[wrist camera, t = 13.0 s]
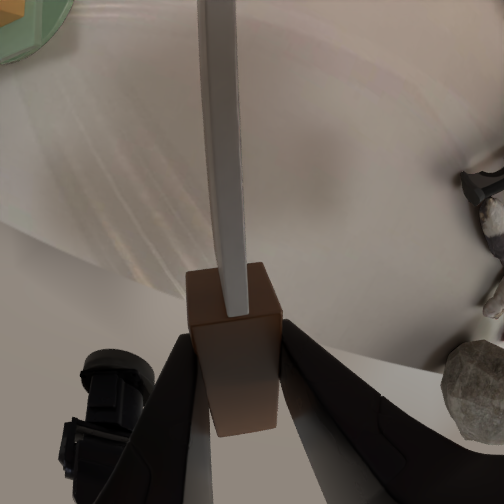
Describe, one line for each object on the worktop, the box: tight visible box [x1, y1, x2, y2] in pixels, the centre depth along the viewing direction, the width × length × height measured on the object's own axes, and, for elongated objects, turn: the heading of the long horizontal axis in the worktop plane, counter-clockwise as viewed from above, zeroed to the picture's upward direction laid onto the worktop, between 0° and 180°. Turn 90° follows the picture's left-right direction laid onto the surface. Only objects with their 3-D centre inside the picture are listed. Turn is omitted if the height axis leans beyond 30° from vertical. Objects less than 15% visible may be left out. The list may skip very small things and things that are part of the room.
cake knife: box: [186, 0, 283, 437], centre depth 6 cm, size 14×2×2 cm, turn 2°
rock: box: [441, 340, 504, 445], centre depth 29 cm, size 15×18×15 cm
